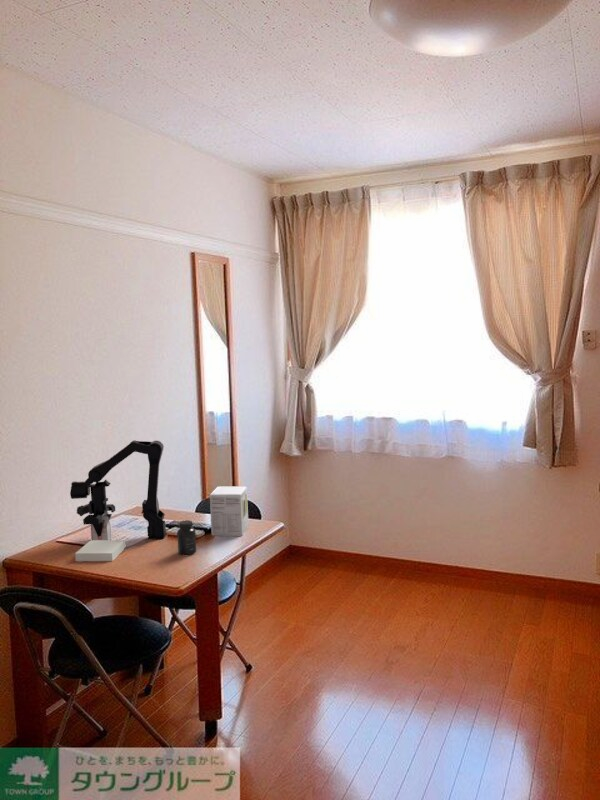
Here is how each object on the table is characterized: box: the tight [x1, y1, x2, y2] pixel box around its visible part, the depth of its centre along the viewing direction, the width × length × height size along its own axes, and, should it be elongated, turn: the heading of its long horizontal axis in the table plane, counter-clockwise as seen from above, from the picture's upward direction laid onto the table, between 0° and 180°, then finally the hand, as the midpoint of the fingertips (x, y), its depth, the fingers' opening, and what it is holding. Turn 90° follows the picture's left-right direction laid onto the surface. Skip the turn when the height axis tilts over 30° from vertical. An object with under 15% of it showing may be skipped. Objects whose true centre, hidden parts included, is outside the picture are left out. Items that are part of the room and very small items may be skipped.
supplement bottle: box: [176, 519, 197, 556], centre depth 227 cm, size 7×7×12 cm
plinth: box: [74, 539, 127, 562], centre depth 229 cm, size 14×14×3 cm
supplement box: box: [209, 485, 249, 537], centre depth 251 cm, size 13×13×18 cm
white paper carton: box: [90, 517, 112, 540], centre depth 244 cm, size 4×7×10 cm, turn 86°
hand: (101, 534), depth 244 cm, fingers closed on white paper carton, 4 cm apart
